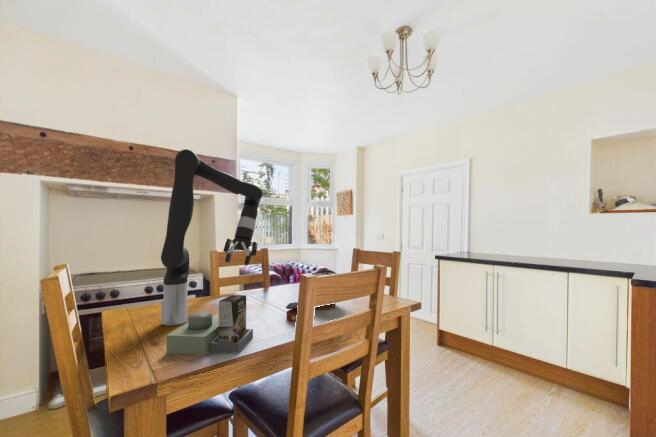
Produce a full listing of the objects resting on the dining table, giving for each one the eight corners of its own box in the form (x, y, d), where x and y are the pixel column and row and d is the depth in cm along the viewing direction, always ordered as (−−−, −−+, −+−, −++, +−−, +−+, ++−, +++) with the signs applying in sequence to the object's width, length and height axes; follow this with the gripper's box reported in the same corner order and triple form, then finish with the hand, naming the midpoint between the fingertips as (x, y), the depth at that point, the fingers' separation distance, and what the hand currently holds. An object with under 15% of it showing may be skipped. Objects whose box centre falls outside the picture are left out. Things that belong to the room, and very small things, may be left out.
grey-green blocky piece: (166, 353, 95) (166, 323, 95) (196, 332, 113) (196, 307, 113) (235, 356, 93) (236, 325, 93) (254, 334, 111) (254, 308, 111)
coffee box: (234, 348, 97) (234, 301, 98) (217, 347, 99) (217, 300, 99) (247, 338, 106) (247, 294, 107) (231, 336, 108) (231, 294, 108)
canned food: (286, 330, 127) (277, 309, 129) (300, 321, 136) (292, 301, 138) (302, 323, 121) (292, 301, 123) (316, 314, 130) (307, 294, 132)
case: (313, 314, 134) (314, 276, 134) (300, 303, 152) (300, 270, 153) (347, 310, 141) (347, 274, 141) (330, 300, 159) (331, 268, 160)
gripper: (227, 224, 126) (217, 260, 121) (257, 227, 124) (248, 264, 119) (234, 229, 133) (225, 263, 128) (263, 232, 131) (255, 267, 126)
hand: (236, 263), depth 123 cm, fingers open, 8 cm apart
